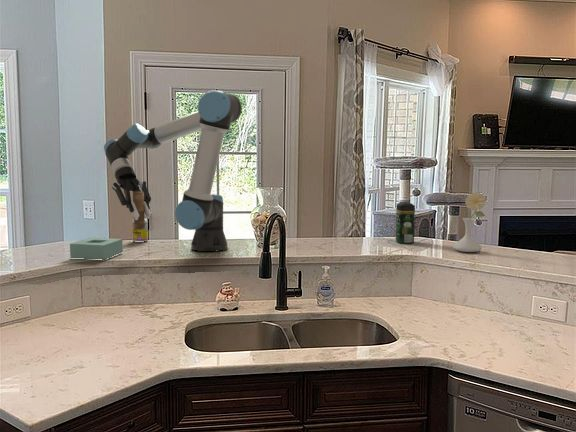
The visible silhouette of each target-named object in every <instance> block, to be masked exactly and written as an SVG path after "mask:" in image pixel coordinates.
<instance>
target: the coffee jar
mask: <svg viewBox="0 0 576 432" xmlns="http://www.w3.org/2000/svg"><path fill="white" fill-rule="evenodd" d="M395 210H396V212H395V213H396V214H395V215H396V216H395V241H396V242H397V243H398V244H404V245H409V244H414V242H415V216H416V215H415V213H416V205H414V204H413V203H410V202H409V201H400V202H398V203H397V204H396V209H395Z"/></svg>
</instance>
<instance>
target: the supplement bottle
mask: <svg viewBox="0 0 576 432" xmlns="http://www.w3.org/2000/svg"><path fill="white" fill-rule="evenodd" d="M144 216H145V217H146V215H145V213H144ZM148 223H149V221H148V219H147V218H145V229H134V219H132V222H131V224H132V225H131V226H132V242H133V241H147V242H148V241H149V229H148V227H149V226H148V225H149V224H148Z"/></svg>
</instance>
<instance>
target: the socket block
mask: <svg viewBox="0 0 576 432" xmlns="http://www.w3.org/2000/svg"><path fill="white" fill-rule="evenodd" d="M123 247H124V246H123V239H122V238H105V237H103V238H102V237H101V238H99V237H88V238H84V239H82V240H78V241H75V242H71V243H69V254H70V255H69V257H70V258H84V259H102V260H105V259H107V258H110V257H112V256H114V255H116V254H119V253H121V252H123V251H124V249H123Z"/></svg>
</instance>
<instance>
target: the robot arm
mask: <svg viewBox="0 0 576 432" xmlns="http://www.w3.org/2000/svg"><path fill="white" fill-rule="evenodd" d="M242 109H243V106H242V102H241V101H240V99H239V98H238V97H237V96H236V95H234V94H233V93H228V92H225V91H222V90H217V89H216V90H214V89H213V90H209V91H207V92H205V93H203V94H202V96H201V97H200V99H199V100H198V103H197V111H194V112H192V113H189V114H186V115H184V116H182V117H179V118H176V119H173V120H171V121H168V122H166V123H165V122H164V123H163V124H159V125H157V126H155V127H153V128H150V129H146V128H145V127H144V126H143V125H140V124H139V123H134V124H132V125H131V126H130V127H128V128H127V130H126V131H125V132H123V134H122V135H121V136H120V137H119V138H118V139H116V138H112V139H110V140H107V141H106V142H105V143H104V145H103V150H104V154H105V156H106V158H107V160H108V163H109V165H110V167H111V170H112V172H113V174H114V178H115V179H116V182H113V184H112V186H111V188H112V190H114V192H115V194H116V195H117V197H118V200H119V202H120V204H121V206H123V207H124V206H125V208H127V209H128V210H129V212H130V213H131V214H133V218H134V217H135V220H138V218H139V213H138V211H137V208H136V206H135V204H134V202H133V201H132V197H131V192H132V193H133V192H144V213H145V218H146V219H147V220H150V218H151V215H152V213H151V211H150V210H151V206H150V203H151V201H152V197H151V194H150V192H149V189H148V188H147V181H146V180H144V181H143V182H142V181H140V180H139V179H138V178H137V174H136V173H135V170H134V168H133V166H132V164H131V161H130V159H129V156H130V155H132V154H133V153H134V151H135V150H137V149H150V150H151V149H156V148H159V147H160V146H161V145H163V144H166V143H168V142H171V141H175V140H177V139H180V138H182V137H183V138H184V137H185V136H189V135H191V134H194V133H197V132H200V131H201V132H200V137H199V141H198V145H197V150H196V153H195V154H196V155H195V160H194V164H193V168H192V172H191V178H190V182H189V186H188V189H186V190H185V191H184V192H183V195H182V200H181V201H180V202H179V203H178V204H177V206H176V207H175V211H174V216H175V221H177V223H178V224H179V226H181V227H182V228H184V229H185V230H188V231H191V230H193V231H194V234H193V237H192V239H191V245H190V247H191V248H190V249H191V250H192V249H193V250H192V251H194V250H198V251H197V252H199V251H216V250H223V251H225V250H224V249H226V250H228V245H229V244H228V241H227V237H226V235H225V231H224V199H223V195H221V194H212V189H213V184H214V180H215V176H216V171H217V167H218V161H219V158H220V154H221V149H222V146H223V145H222V144H223V139H224V136H225V134H226V133H227V132H229V131H230V128H231V124H232V123H234V122H237V121H238V119H240V116H241V114H242V112H243V110H242ZM122 189H123V190H122ZM216 252H217V251H216Z"/></svg>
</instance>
